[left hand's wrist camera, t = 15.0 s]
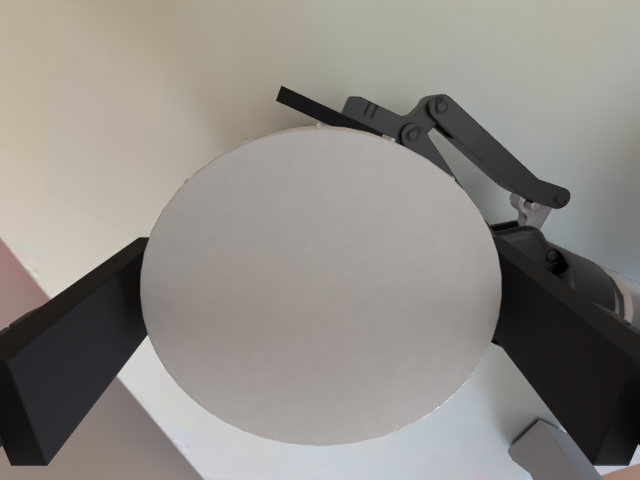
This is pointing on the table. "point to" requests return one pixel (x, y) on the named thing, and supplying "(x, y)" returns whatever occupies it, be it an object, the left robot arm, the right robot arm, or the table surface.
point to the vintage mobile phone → (551, 455)
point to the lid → (320, 286)
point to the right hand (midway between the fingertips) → (250, 179)
